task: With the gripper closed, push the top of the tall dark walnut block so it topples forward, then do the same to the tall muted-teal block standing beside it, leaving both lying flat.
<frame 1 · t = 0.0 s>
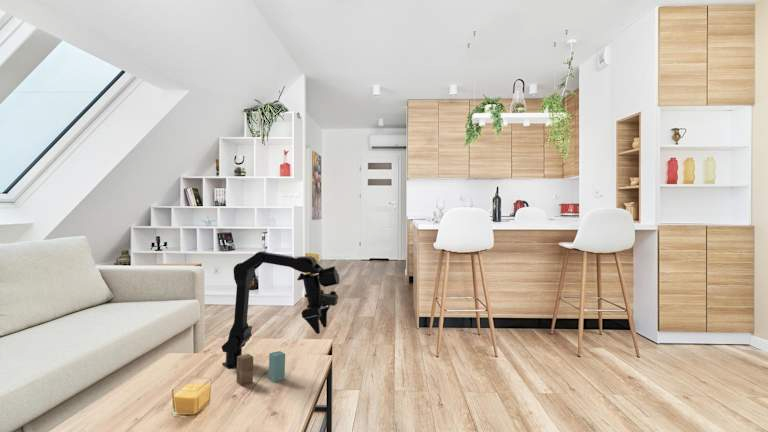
hand: (321, 330, 152), 15 cm above the table, tool pointing down, fingers open, 9 cm apart
walnut block: (244, 382, 139), on the table
teal block: (276, 379, 143), on the table
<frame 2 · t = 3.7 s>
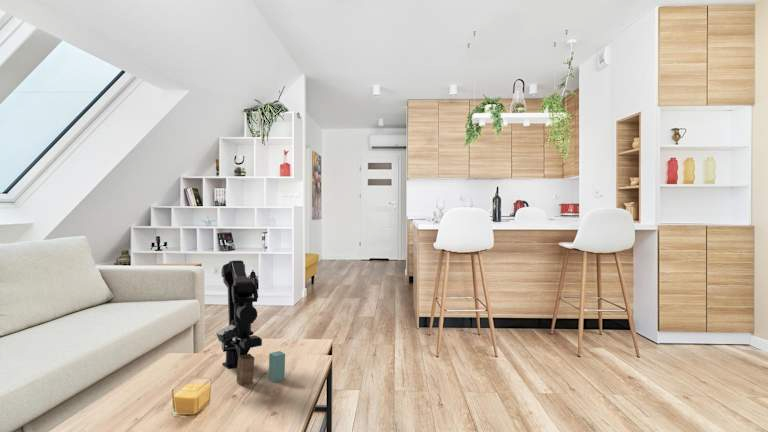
hand: (241, 361, 141), 6 cm above the table, tool pointing down, fingers closed
walnut block: (244, 382, 139), on the table, tilted 6°, touching gripper
everything else where it was.
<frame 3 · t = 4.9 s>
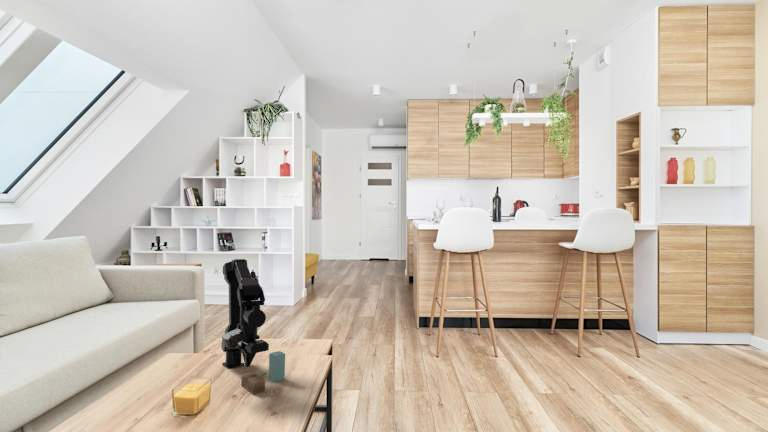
hand: (247, 366, 138), 6 cm above the table, tool pointing down, fingers closed
walnut block: (247, 379, 138), point 2 cm above the table, tilted 90°
everything else where it was.
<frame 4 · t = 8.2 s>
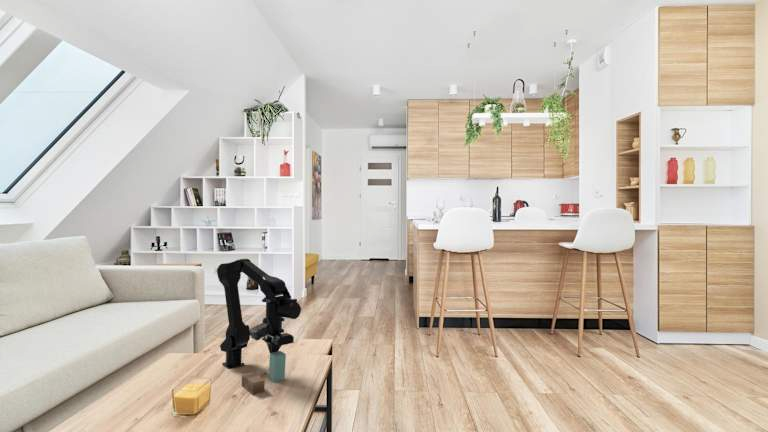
hand: (272, 358, 146), 6 cm above the table, tool pointing down, fingers closed
teal block: (276, 378, 143), on the table, touching gripper
everything else where it was.
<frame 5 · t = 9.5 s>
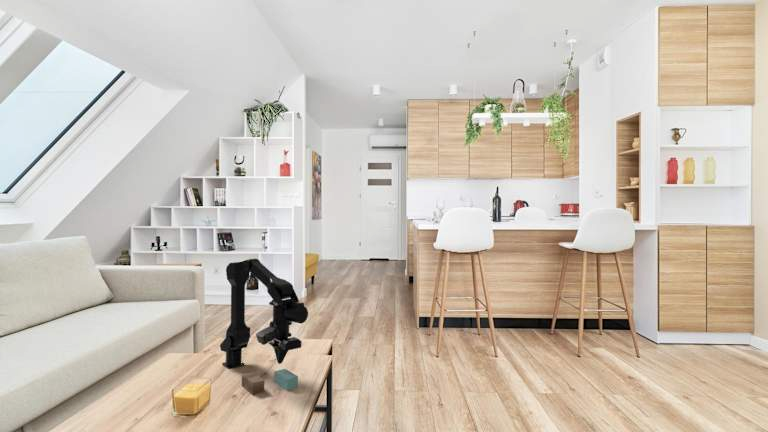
hand: (279, 363, 142), 6 cm above the table, tool pointing down, fingers closed
teal block: (279, 375, 141), point 2 cm above the table, tilted 90°
everything else where it was.
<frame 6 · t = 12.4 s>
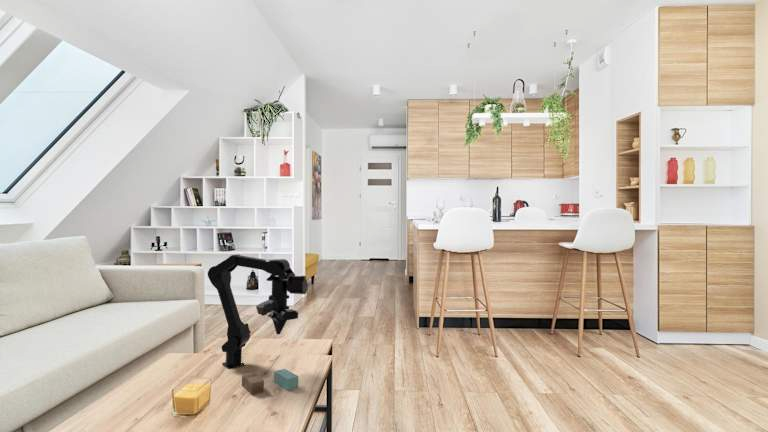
hand: (278, 334, 153), 13 cm above the table, tool pointing down, fingers closed
nothing on the table moved.
at the end: walnut block tilted 90°; teal block tilted 90°; walnut block touching table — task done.
